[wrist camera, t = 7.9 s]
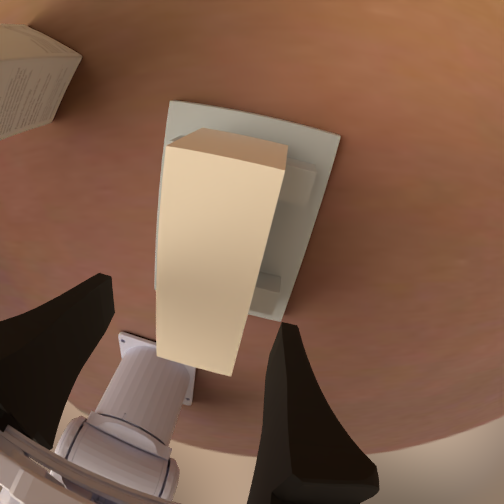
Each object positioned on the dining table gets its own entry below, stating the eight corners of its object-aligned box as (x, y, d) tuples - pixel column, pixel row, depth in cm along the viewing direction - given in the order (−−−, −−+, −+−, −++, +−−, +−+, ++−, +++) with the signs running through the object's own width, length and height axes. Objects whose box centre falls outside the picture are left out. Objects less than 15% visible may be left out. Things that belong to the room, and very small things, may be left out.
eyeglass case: (243, 319, 21) (231, 376, 17) (181, 303, 21) (156, 355, 17) (288, 145, 15) (285, 170, 11) (202, 127, 15) (165, 145, 11)
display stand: (281, 314, 24) (279, 338, 22) (158, 283, 24) (145, 303, 22) (338, 134, 17) (345, 141, 15) (174, 100, 17) (157, 103, 15)
